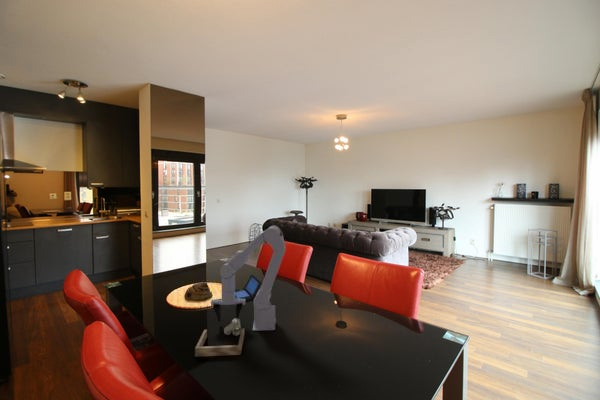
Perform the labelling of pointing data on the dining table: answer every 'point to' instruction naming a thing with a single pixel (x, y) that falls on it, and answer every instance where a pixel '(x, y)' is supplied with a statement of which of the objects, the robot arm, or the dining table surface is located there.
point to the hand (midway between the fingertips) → (228, 320)
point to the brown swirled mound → (198, 292)
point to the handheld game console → (248, 289)
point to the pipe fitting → (233, 327)
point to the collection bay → (218, 347)
